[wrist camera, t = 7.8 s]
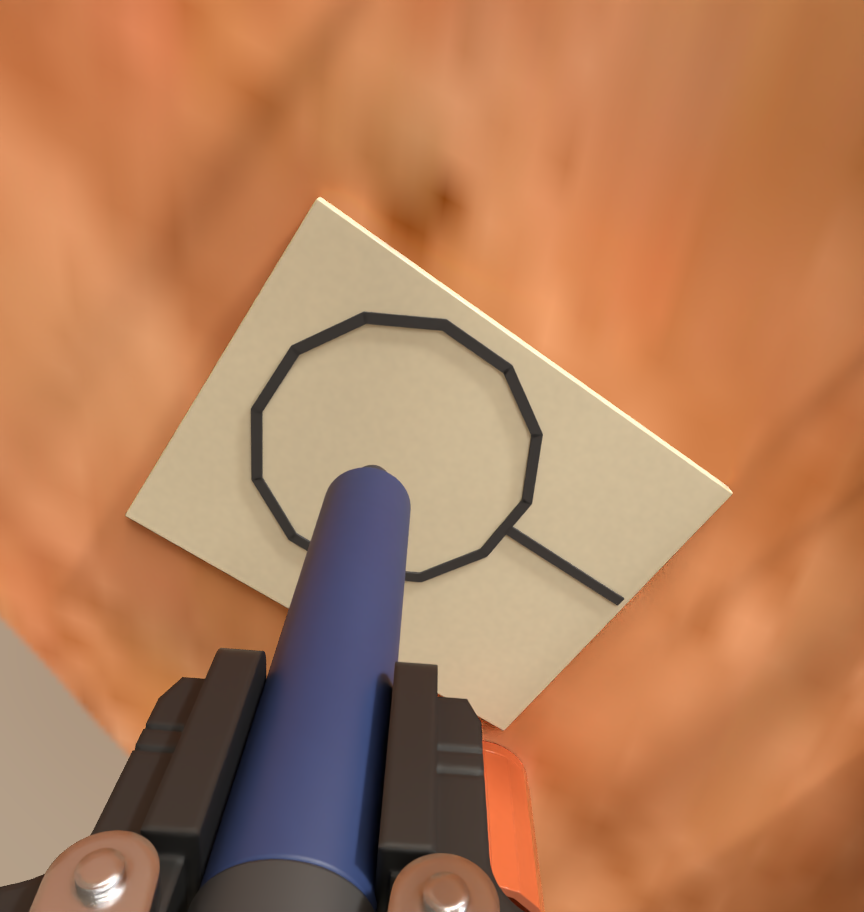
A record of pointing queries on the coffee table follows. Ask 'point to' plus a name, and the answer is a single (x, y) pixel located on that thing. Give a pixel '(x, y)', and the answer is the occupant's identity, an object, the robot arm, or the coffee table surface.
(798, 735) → the coffee table surface
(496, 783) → the pen cup
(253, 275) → the coffee table surface
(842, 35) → the coffee table surface
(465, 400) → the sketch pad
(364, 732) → the marker
